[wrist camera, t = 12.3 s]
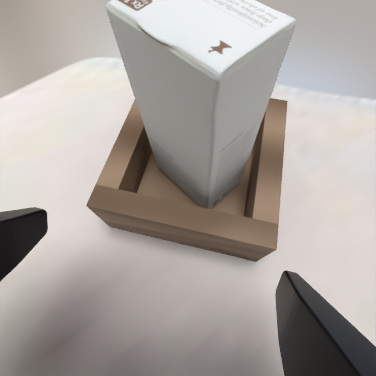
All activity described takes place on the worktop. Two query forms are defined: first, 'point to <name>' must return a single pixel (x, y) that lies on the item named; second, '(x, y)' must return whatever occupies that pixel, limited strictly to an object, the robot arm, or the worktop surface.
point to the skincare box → (201, 83)
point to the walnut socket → (183, 205)
